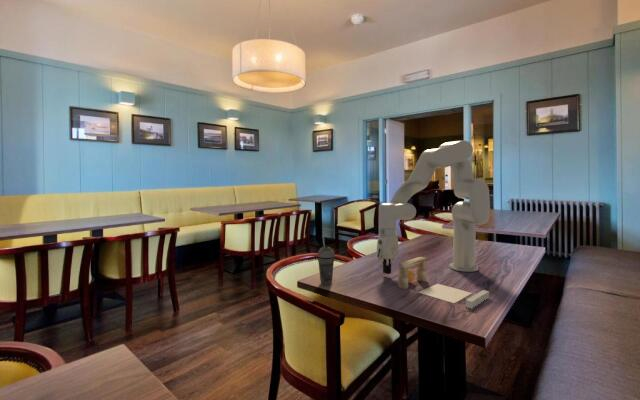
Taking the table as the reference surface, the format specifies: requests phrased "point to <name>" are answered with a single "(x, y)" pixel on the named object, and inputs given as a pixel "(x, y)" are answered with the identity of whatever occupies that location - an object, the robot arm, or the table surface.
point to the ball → (410, 276)
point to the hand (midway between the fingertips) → (387, 273)
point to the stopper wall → (477, 299)
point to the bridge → (405, 268)
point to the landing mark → (445, 293)
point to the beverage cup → (326, 264)
